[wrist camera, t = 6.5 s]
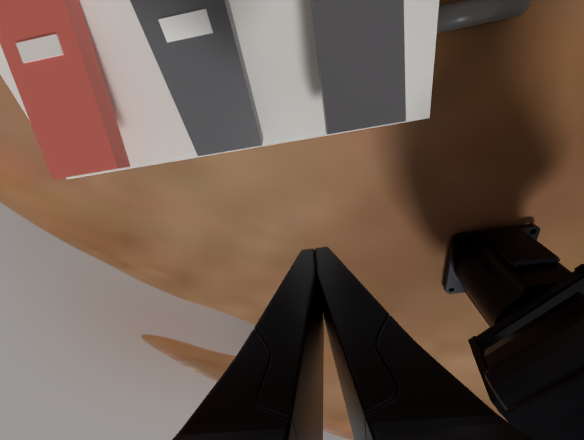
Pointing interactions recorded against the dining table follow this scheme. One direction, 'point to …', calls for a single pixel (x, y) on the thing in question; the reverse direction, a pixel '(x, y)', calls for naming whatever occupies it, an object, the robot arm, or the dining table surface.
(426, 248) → the dining table surface
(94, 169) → the rocker red
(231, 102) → the rocker middle
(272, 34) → the power strip
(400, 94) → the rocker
